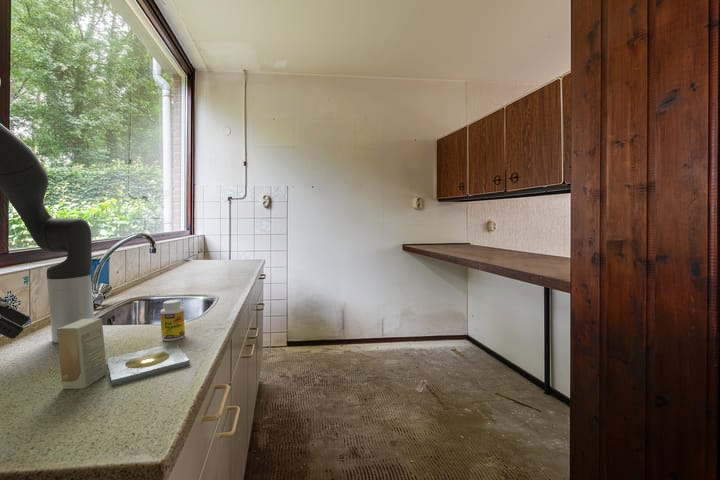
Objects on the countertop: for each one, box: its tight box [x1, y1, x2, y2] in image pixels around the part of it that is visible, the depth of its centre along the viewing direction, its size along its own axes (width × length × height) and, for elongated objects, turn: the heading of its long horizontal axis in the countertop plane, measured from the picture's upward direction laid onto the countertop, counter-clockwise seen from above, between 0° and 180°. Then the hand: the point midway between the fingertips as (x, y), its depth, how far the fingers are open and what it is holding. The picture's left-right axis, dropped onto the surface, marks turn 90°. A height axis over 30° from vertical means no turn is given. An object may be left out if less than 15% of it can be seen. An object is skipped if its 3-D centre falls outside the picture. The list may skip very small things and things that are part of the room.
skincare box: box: [57, 318, 108, 390], centre depth 68 cm, size 6×4×12 cm
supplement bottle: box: [160, 299, 186, 342], centre depth 92 cm, size 6×6×10 cm
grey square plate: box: [106, 342, 191, 387], centre depth 76 cm, size 14×14×1 cm
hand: (22, 328), depth 62 cm, fingers open, 8 cm apart
